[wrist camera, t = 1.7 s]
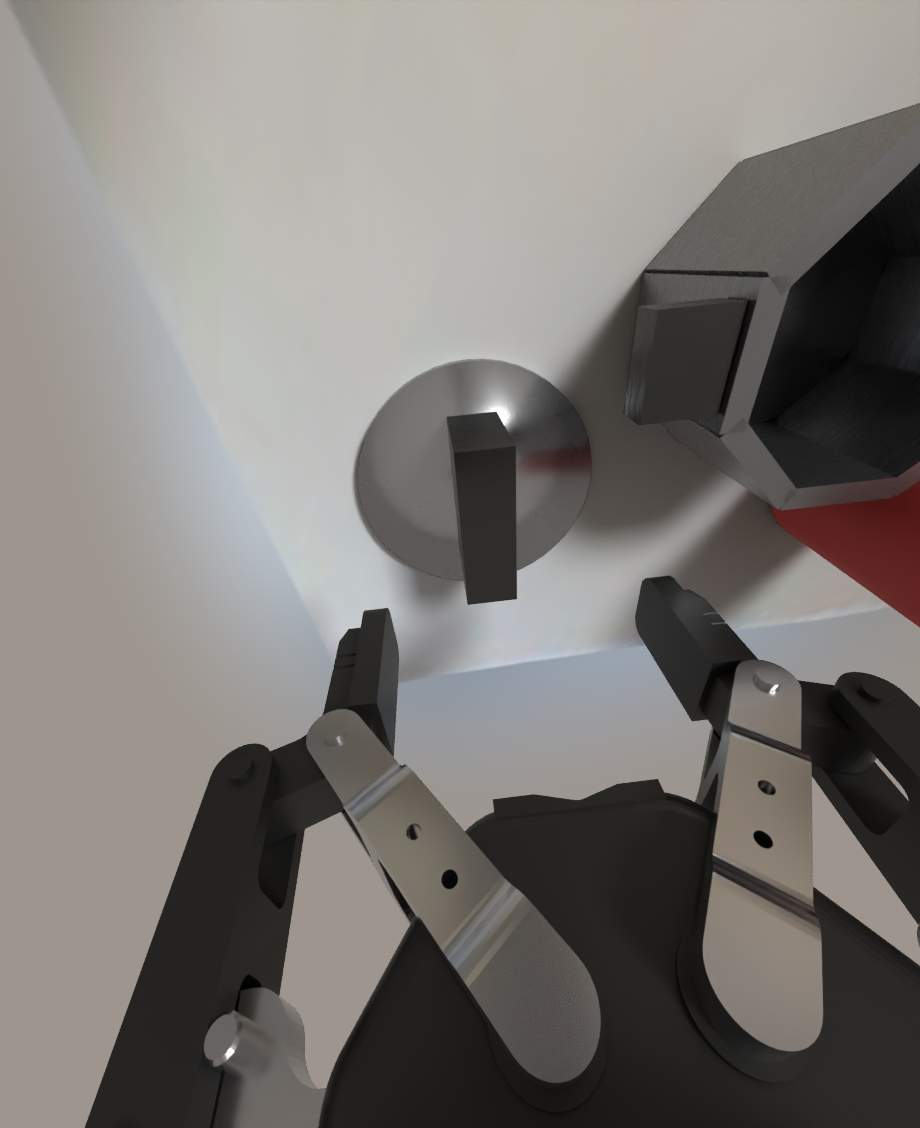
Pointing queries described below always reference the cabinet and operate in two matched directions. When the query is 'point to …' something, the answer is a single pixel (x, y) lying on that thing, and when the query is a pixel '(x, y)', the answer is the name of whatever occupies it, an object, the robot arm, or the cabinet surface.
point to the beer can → (868, 544)
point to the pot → (795, 320)
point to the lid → (474, 473)
